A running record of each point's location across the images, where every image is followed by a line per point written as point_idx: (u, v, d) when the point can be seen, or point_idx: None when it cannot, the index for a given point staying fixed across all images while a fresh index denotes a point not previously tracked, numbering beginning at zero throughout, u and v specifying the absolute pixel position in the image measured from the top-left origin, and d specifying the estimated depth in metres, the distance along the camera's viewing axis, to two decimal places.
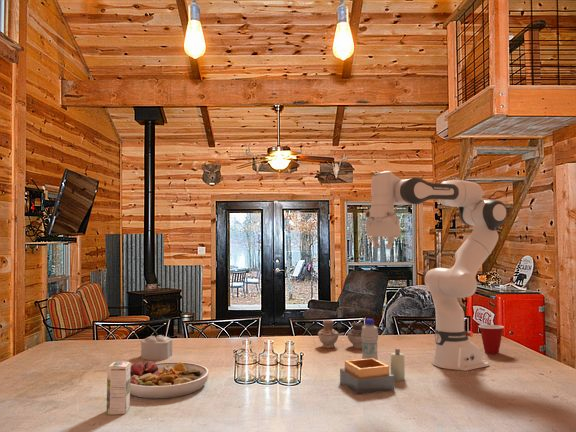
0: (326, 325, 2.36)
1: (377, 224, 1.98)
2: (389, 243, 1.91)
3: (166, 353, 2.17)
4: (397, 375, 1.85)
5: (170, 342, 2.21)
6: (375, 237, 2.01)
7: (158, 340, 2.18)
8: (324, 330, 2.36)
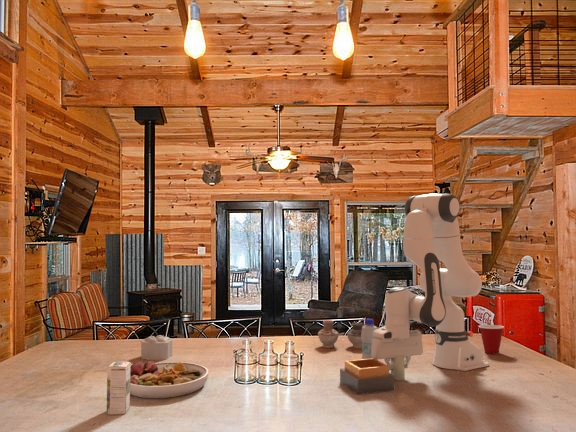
0: (326, 325, 2.36)
1: (396, 344, 1.86)
2: None
3: (166, 353, 2.17)
4: (397, 375, 1.85)
5: (170, 342, 2.21)
6: None
7: (158, 340, 2.18)
8: (324, 330, 2.36)
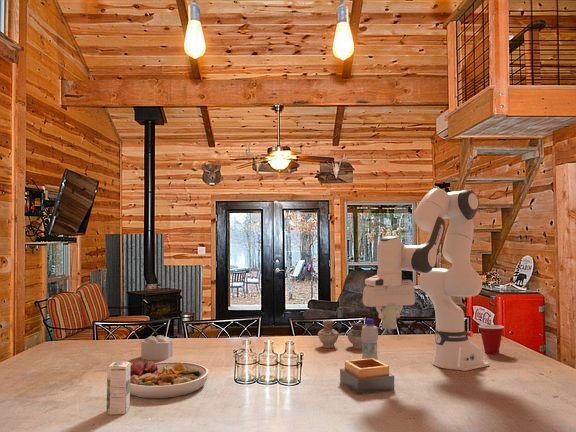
0: (326, 325, 2.36)
1: (387, 293, 1.84)
2: None
3: (167, 353, 2.17)
4: (389, 324, 1.83)
5: (170, 342, 2.21)
6: None
7: (159, 340, 2.18)
8: (324, 330, 2.36)
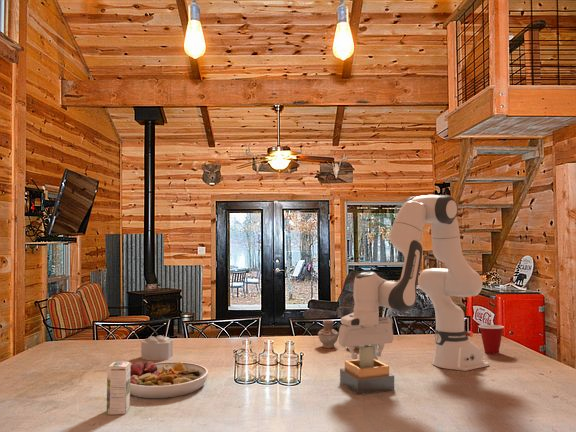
0: (326, 325, 2.36)
1: (364, 332, 1.77)
2: None
3: (167, 353, 2.16)
4: None
5: (171, 342, 2.21)
6: None
7: (159, 340, 2.18)
8: (324, 330, 2.36)
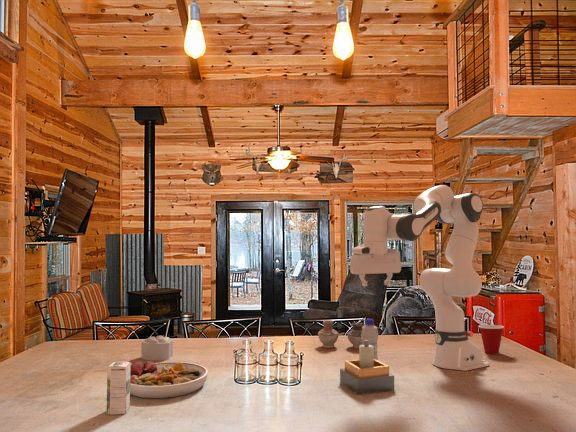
0: (326, 325, 2.36)
1: (374, 261, 1.89)
2: None
3: (168, 353, 2.16)
4: None
5: (171, 342, 2.20)
6: None
7: (159, 341, 2.17)
8: (324, 330, 2.36)
